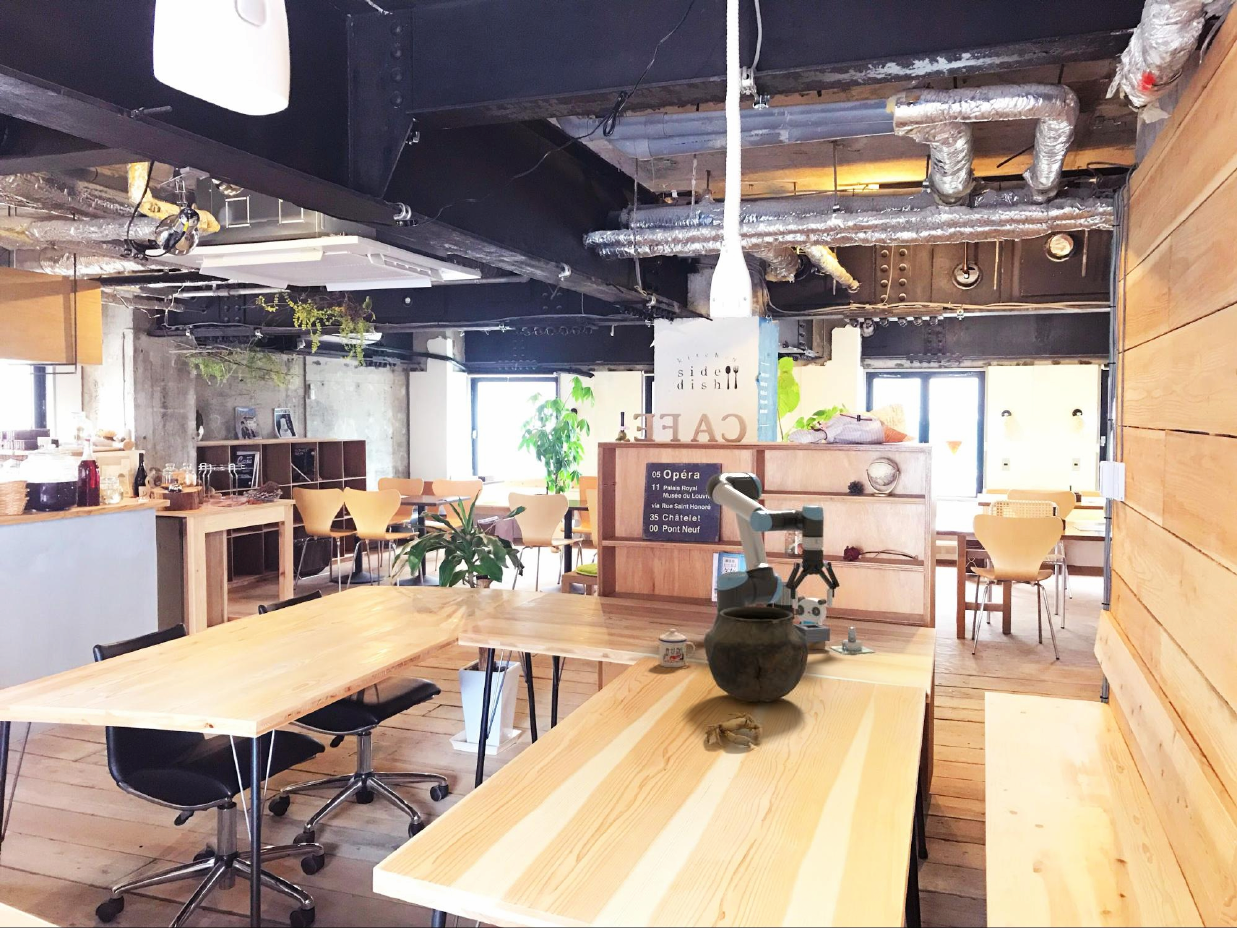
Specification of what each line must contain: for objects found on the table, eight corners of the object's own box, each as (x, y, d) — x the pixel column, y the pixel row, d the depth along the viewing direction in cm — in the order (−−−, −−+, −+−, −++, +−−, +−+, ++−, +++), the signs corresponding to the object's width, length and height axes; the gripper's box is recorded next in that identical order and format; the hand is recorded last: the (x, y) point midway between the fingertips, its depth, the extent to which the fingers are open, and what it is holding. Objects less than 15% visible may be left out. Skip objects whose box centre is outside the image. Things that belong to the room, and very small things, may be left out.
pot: (742, 721, 235) (743, 626, 234) (686, 691, 264) (687, 606, 263) (833, 709, 246) (835, 618, 246) (770, 681, 275) (771, 600, 275)
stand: (807, 649, 320) (807, 634, 320) (798, 645, 327) (798, 630, 327) (824, 648, 322) (825, 633, 322) (815, 644, 329) (815, 629, 328)
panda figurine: (789, 636, 342) (789, 597, 341) (805, 632, 350) (805, 594, 350) (817, 641, 334) (817, 601, 333) (832, 637, 342) (833, 598, 342)
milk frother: (798, 617, 382) (798, 582, 382) (784, 623, 369) (784, 587, 368) (767, 613, 390) (767, 579, 389) (752, 619, 376) (752, 584, 376)
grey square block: (805, 642, 318) (805, 629, 318) (793, 636, 328) (793, 624, 327) (829, 640, 321) (829, 628, 321) (817, 635, 330) (817, 623, 330)
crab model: (740, 755, 210) (740, 732, 209) (696, 742, 218) (696, 720, 218) (775, 739, 221) (775, 717, 221) (731, 727, 230) (732, 706, 229)
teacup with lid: (660, 668, 291) (661, 632, 291) (656, 661, 300) (656, 626, 300) (697, 667, 292) (697, 631, 292) (691, 660, 301) (692, 626, 301)
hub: (844, 654, 313) (844, 631, 313) (829, 647, 324) (829, 625, 324) (875, 652, 316) (875, 629, 316) (858, 645, 327) (859, 624, 327)
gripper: (785, 550, 317) (785, 610, 317) (849, 548, 323) (848, 607, 323) (776, 548, 324) (776, 607, 324) (838, 546, 330) (838, 604, 331)
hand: (812, 607), depth 324 cm, fingers open, 13 cm apart
